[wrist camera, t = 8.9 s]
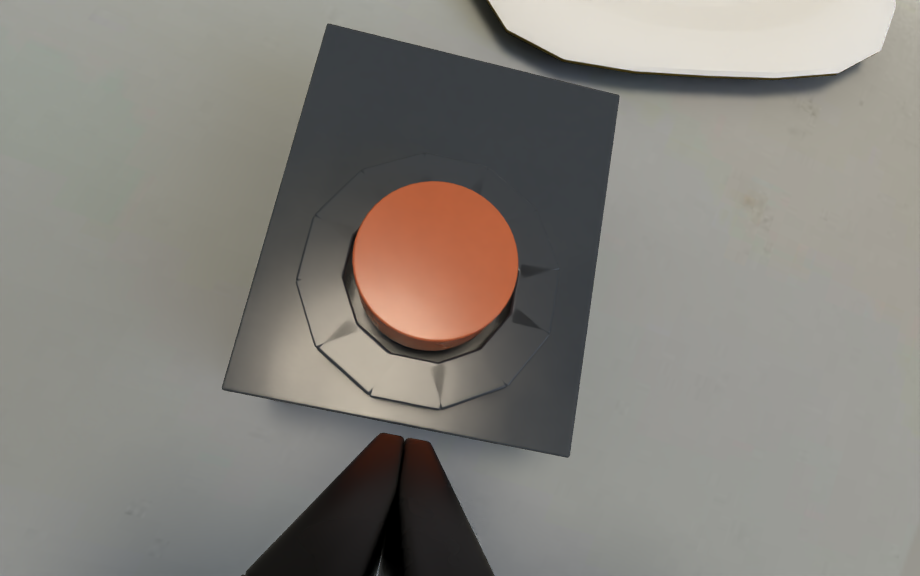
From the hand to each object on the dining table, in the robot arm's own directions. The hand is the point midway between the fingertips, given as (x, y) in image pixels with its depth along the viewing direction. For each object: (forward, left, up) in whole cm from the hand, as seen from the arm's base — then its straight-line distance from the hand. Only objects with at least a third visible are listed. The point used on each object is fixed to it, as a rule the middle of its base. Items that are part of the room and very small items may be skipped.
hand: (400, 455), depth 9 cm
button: (+4, 0, -5) cm, 7 cm away
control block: (+6, 0, -13) cm, 15 cm away
